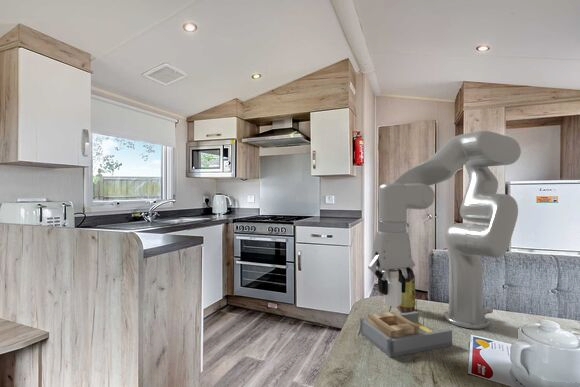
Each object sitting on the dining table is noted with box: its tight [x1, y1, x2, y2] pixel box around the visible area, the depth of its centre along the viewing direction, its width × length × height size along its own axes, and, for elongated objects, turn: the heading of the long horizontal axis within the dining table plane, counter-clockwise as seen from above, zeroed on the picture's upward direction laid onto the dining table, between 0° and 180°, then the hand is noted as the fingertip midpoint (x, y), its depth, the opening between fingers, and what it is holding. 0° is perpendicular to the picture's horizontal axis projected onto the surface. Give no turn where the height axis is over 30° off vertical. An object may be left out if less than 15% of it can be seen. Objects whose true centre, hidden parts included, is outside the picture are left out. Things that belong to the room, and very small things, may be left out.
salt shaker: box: [383, 269, 402, 308], centre depth 84 cm, size 4×4×10 cm
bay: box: [359, 310, 453, 358], centre depth 86 cm, size 20×14×4 cm
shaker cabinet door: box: [367, 311, 419, 339], centre depth 85 cm, size 9×11×4 cm
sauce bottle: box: [396, 269, 416, 313], centre depth 108 cm, size 6×6×20 cm
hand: (392, 291), depth 85 cm, fingers closed on salt shaker, 5 cm apart
